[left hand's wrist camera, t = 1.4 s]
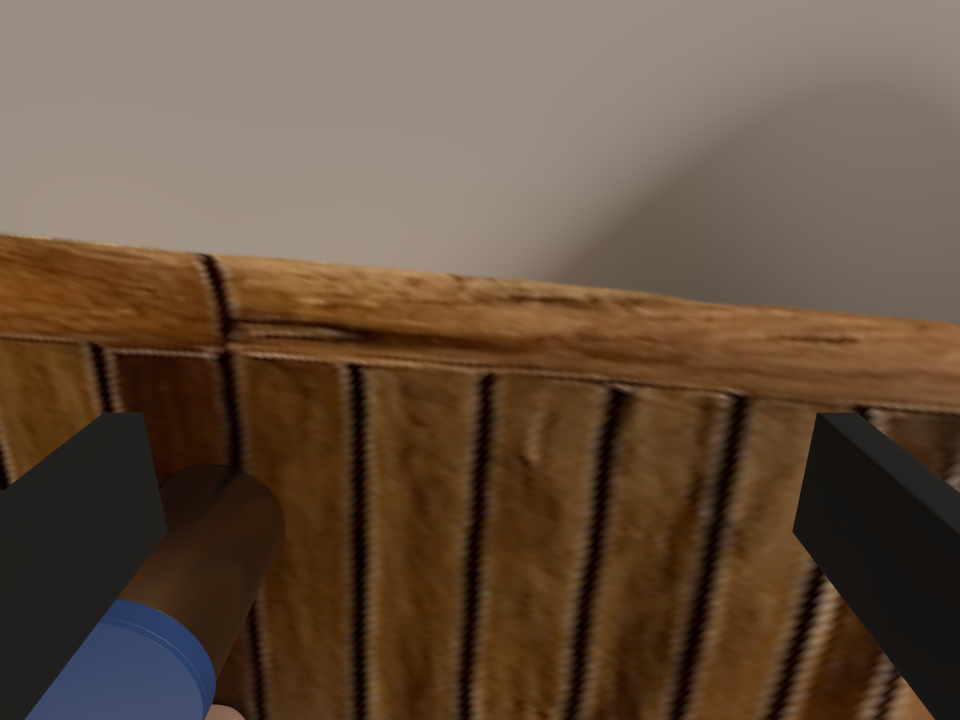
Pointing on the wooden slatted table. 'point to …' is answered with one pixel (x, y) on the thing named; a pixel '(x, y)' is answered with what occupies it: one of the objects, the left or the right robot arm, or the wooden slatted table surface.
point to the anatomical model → (223, 713)
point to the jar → (210, 554)
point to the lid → (133, 672)
